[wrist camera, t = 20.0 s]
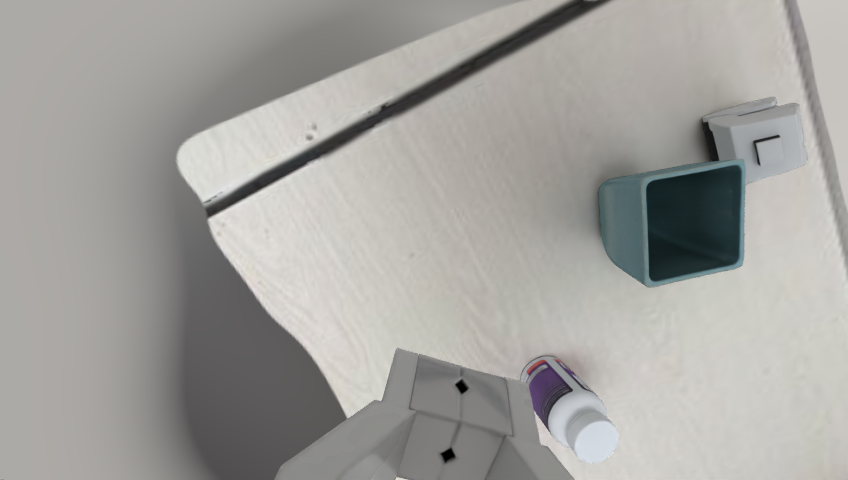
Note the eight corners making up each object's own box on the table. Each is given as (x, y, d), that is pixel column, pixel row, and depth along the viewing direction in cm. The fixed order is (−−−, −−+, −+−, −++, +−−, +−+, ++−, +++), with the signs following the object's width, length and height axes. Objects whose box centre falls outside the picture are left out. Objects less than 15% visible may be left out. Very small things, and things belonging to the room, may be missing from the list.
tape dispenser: (698, 112, 40) (707, 132, 33) (784, 84, 37) (818, 100, 29) (711, 166, 42) (723, 198, 34) (794, 145, 38) (830, 176, 30)
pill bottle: (517, 404, 42) (564, 476, 32) (519, 357, 41) (568, 417, 31) (565, 398, 42) (624, 466, 33) (568, 352, 41) (630, 409, 32)
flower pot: (583, 261, 40) (646, 290, 31) (576, 173, 38) (641, 177, 29) (662, 244, 41) (745, 267, 32) (659, 157, 39) (747, 157, 30)
